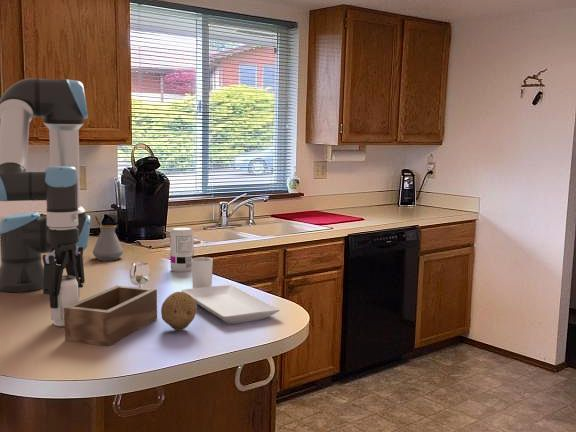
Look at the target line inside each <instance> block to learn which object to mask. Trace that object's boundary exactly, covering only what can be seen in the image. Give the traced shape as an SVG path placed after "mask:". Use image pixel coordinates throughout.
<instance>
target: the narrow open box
mask: <svg viewBox="0 0 576 432" xmlns="http://www.w3.org/2000/svg"><path fill="white" fill-rule="evenodd" d="M157 319H158V291H157V289H156V288H146V287H141V288H138V287H137V286H126V285H115V286H113V287H109V288H107V289H105V290H103V291H101V292H98V293H96V294H93V295H91V296H89V297H86V298H84V299H82V300H79V302H76V303H74V304H72V305H69V306H67V307H64V326H65V327H64V341H67V342H74V343H81V344H90V345H99V346H106V347H111V346H113V345H115V344H116V343H118V342H119V341H121V340H122V339H125V338H126V337H128V336H129V335H131V334H133V333H136V332H137V331H138V330H140V329H142V328H143V327H146V326H147V325H149V324H150V323H152V322H154V321H155V320H157Z"/></svg>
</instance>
